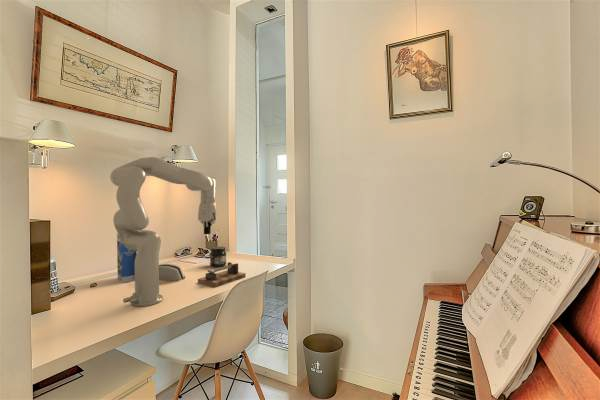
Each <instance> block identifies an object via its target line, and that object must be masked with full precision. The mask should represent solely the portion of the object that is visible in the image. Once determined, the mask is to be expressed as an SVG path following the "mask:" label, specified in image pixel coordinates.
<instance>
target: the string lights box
mask: <svg viewBox="0 0 600 400" xmlns="http://www.w3.org/2000/svg"><path fill="white" fill-rule="evenodd" d="M116 245H117V246H116V249H117V251H116V252H117V253H116V257H117V258H116V260H117V261H116V262H117V279H118V280H119V281H120V283H121V284H125V283H130V282H135V258H136V255H137V252H138V251H134V250H129V249H127V248H126V247H125V246H124V244H123V243H122V241H121V239H120V237H119V235H118V232H116Z"/></svg>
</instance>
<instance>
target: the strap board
mask: <svg viewBox="0 0 600 400" xmlns="http://www.w3.org/2000/svg"><path fill="white" fill-rule="evenodd" d="M230 264H234V267H232V268H228V269H226V270H222V271H221V272H214V273H210V272H206V273H205V276H204V277H199V278H197V283H198V284H202V285H206V286H208V287H209V286H211V287H214V288H217V287H221V286H222V285H225V284H228V283H231V282H234V281H237V280H241V279H242V278H246V272H241V271H239V263H237V262H236V263H232V262H231V261H228V262H227V266H228V265H230Z"/></svg>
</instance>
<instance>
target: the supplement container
mask: <svg viewBox="0 0 600 400" xmlns="http://www.w3.org/2000/svg"><path fill="white" fill-rule="evenodd" d="M209 259H210V260H209V265H210V267H212V268H220V267H224V266H227V251H226V247H225V246H213V247H211V248H210V253H209Z"/></svg>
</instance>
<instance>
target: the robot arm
mask: <svg viewBox="0 0 600 400" xmlns="http://www.w3.org/2000/svg"><path fill="white" fill-rule="evenodd" d="M146 177H154V178H157V179H161V180H162V181H163V180H164V181H166V182H168V183H171V184H176V185H185V186H186V188H187V190H189V191H191V192H192V191H193V192H200V203H199V206H198V215H197V220H198V221H199V222H200V224H202V226H203V234H204V235H210V234H211V227H212V225H214V224H215V223H216V222H215V221H216V220H217V207H216V179H214V178H212V177H209V176H208V175H207V174H204V173H201V172H198V171H195V170H191V169H187V168H184V167H180V166H178V165H176V164H173V163H170V162H168V161H166V160H163V159H161V158H159V157H154V156H148V157H141V158H140V157H139V158H138V159H135V160H133V161H131V162H128V163H126V164H123V165H120V166H119V167H116V168H114V169H113V170H112V171H111V173H110V181H111V183H112V184H113V185H114V186H116V187H118V188H117V190H116V203H117V205H118V208H119V209H118V210H117V211H116V212H115V213H114V215H113V219H112V221H113V226H114V228H115V230H116V233H118V235H119V237H120V239H121V241H122V243H123V244H124V246H125V247H126V248H127V249H129V250H134V251H137V255H136V258H135V281H134V292H132V294H131V296H128V297H124V298H123V299H122V302H123V303H124V304H126V303H130V304H131V305H132V306H134V307H146V306H147V307H149V306H152V305H156V304H159V303H160V302H162V301H163V299H164V295H162V294H160V279H159V265H160V264H159V263H160V261H159V260H160V259H159V258H160V251H161V250H160V249H161V241H162V239H161V237H160V235H159V234H158V233H157V232H155V231H153V230H148V229H147V230H146V228H147V227H148V226H149V223H150V221H149V216H148V214H147V211H146V208H145V207H144V204H143V202H142V199H141V197H140V196H141V195H140V192H141V188H142V186H143V184H144V183H145V181H146Z"/></svg>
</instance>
